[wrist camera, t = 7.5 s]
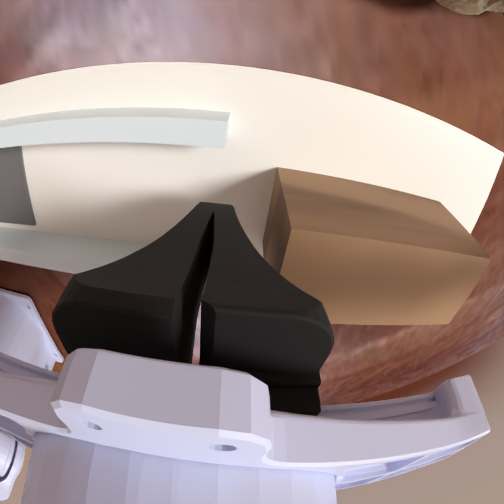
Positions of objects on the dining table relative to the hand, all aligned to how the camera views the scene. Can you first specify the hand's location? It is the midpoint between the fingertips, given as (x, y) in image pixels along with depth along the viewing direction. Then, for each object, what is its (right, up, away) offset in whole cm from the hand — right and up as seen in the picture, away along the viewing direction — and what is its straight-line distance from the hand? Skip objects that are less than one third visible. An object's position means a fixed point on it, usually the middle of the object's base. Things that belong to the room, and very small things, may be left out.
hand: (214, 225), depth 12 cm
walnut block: (+7, +1, +3) cm, 7 cm away
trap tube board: (-1, +2, +2) cm, 3 cm away
